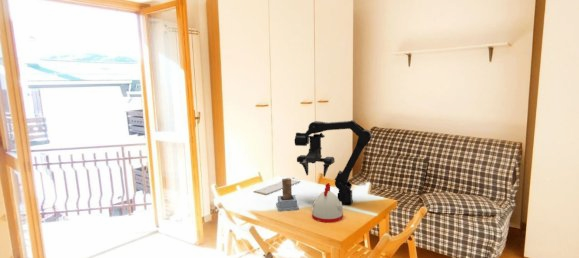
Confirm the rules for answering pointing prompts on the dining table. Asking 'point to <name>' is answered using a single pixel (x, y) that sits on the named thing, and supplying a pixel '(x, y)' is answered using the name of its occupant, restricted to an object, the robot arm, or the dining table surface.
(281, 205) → the end cap
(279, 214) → the dining table surface
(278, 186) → the baseboard molding
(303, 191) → the dining table surface
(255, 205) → the dining table surface
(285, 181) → the brown wooden block
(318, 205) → the kitchen timer
